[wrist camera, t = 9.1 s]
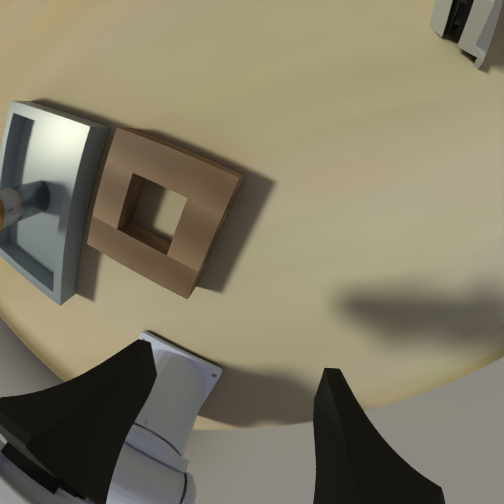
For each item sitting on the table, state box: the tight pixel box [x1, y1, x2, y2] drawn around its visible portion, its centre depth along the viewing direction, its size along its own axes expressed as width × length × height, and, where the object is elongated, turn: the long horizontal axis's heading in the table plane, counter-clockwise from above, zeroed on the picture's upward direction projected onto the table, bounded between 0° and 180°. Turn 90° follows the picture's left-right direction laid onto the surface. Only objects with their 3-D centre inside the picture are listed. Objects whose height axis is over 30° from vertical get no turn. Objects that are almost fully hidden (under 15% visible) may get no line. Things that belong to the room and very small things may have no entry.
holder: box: [87, 127, 245, 299], centre depth 18 cm, size 9×9×2 cm
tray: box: [0, 101, 110, 306], centre depth 19 cm, size 16×12×2 cm
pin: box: [0, 180, 50, 234], centre depth 16 cm, size 4×4×7 cm
